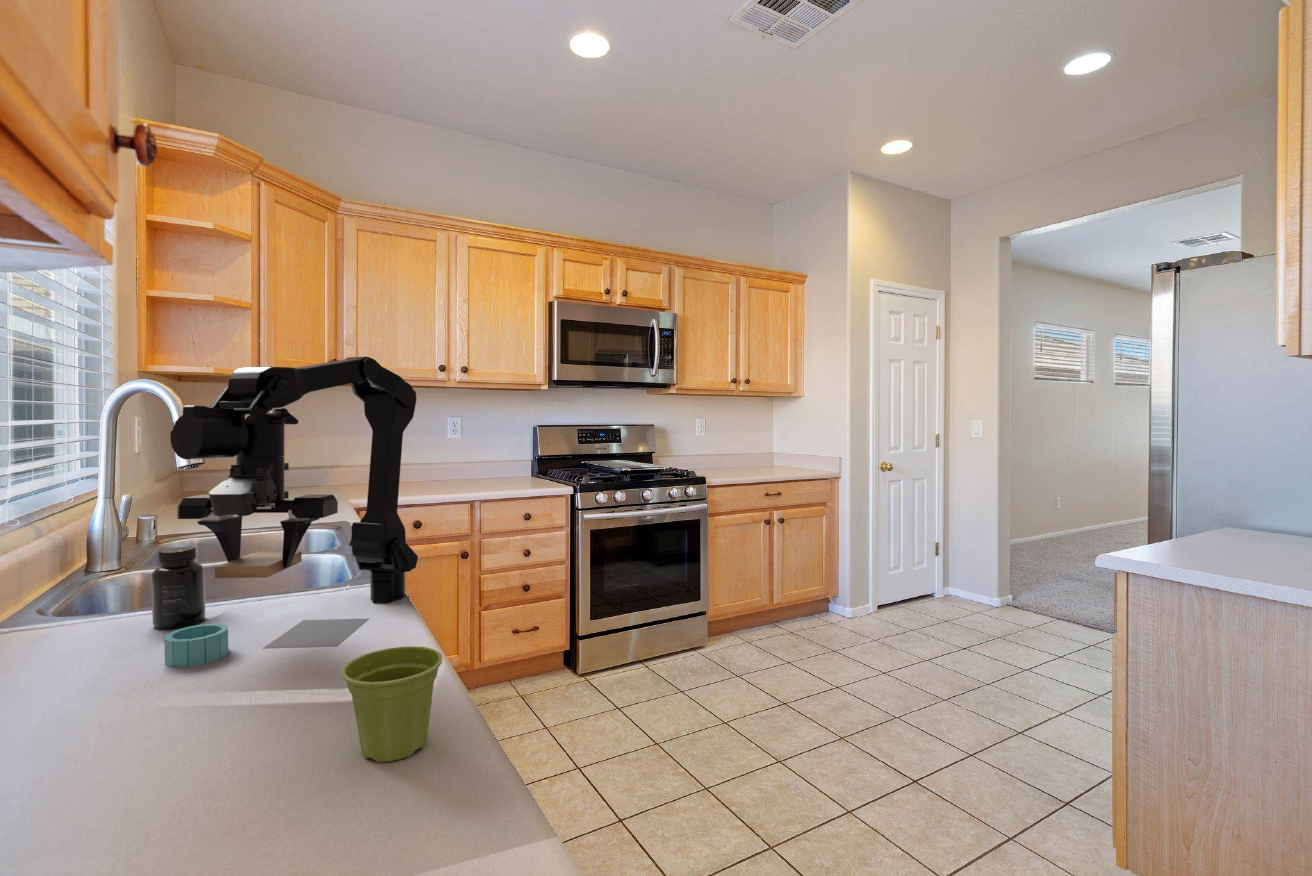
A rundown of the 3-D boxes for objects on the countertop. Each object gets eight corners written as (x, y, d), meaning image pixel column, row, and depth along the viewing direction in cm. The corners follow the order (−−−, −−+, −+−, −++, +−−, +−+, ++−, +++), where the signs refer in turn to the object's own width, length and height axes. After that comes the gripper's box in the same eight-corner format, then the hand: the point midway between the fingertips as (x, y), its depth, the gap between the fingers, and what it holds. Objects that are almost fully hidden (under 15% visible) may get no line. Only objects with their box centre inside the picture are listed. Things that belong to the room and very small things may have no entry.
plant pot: (339, 783, 57) (338, 689, 57) (345, 735, 66) (344, 653, 65) (447, 760, 61) (446, 672, 61) (439, 718, 69) (438, 640, 69)
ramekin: (187, 656, 87) (186, 624, 87) (239, 655, 88) (238, 623, 87) (152, 676, 80) (151, 642, 80) (208, 674, 81) (208, 640, 81)
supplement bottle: (216, 616, 104) (214, 545, 104) (181, 630, 97) (179, 554, 97) (178, 615, 105) (176, 544, 104) (140, 629, 98) (138, 553, 98)
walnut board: (255, 562, 92) (255, 552, 92) (301, 561, 93) (301, 551, 93) (214, 578, 82) (214, 566, 82) (267, 577, 83) (267, 566, 83)
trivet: (303, 627, 99) (303, 620, 99) (369, 625, 100) (369, 618, 100) (262, 656, 87) (262, 648, 87) (337, 654, 88) (337, 646, 88)
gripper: (148, 459, 79) (148, 583, 79) (305, 459, 81) (304, 580, 81) (202, 455, 90) (202, 564, 90) (339, 456, 92) (338, 562, 92)
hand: (260, 567), depth 88 cm, fingers closed on walnut board, 6 cm apart
